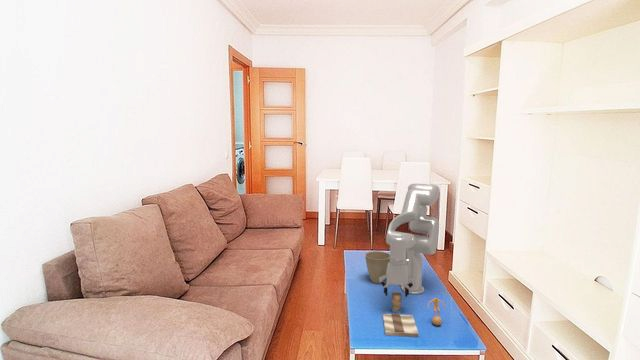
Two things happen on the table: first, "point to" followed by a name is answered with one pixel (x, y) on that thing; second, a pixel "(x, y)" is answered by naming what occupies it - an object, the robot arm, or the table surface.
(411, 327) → the floor board
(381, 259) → the plant pot
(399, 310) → the brown cylinder
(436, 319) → the figurine
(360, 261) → the table surface
